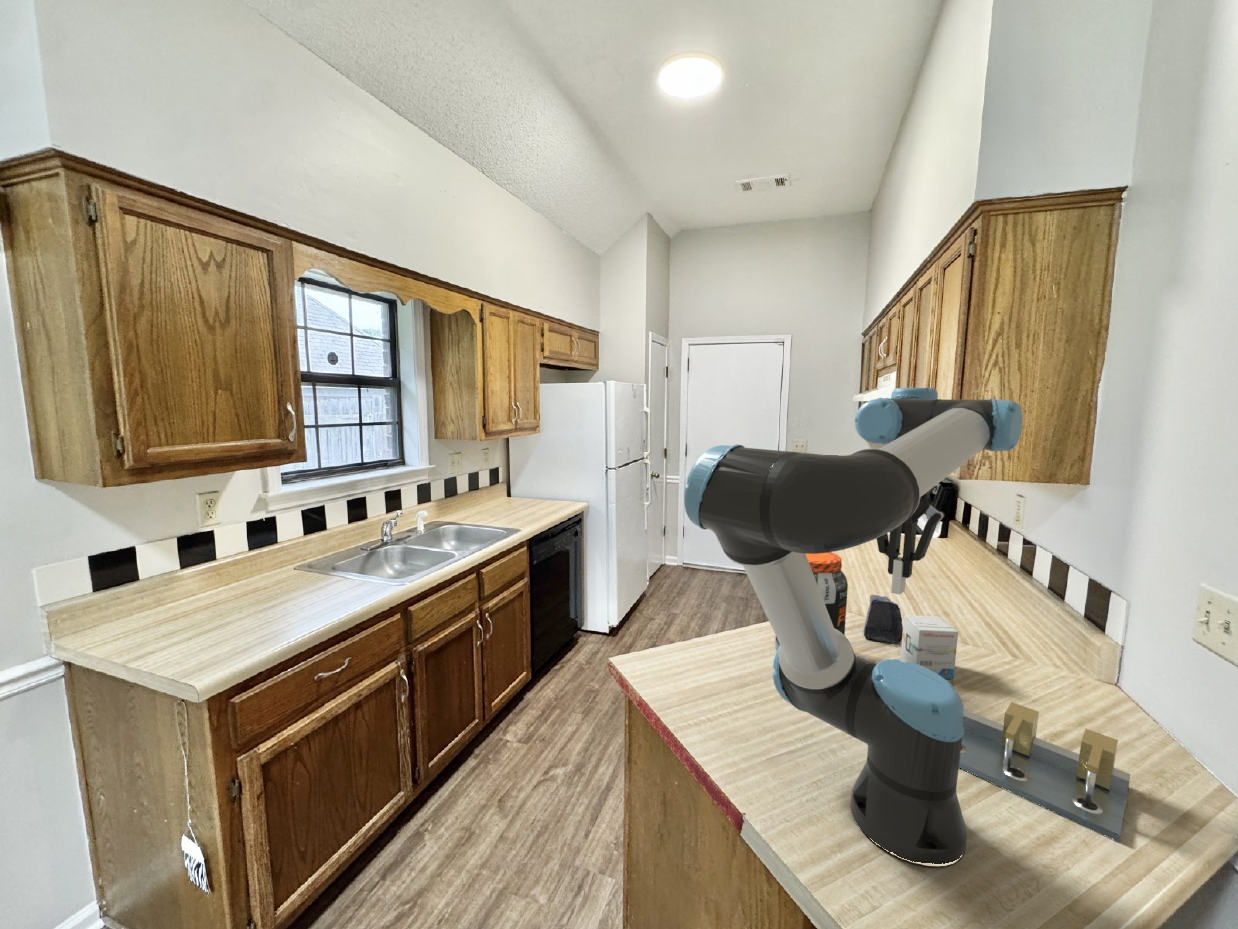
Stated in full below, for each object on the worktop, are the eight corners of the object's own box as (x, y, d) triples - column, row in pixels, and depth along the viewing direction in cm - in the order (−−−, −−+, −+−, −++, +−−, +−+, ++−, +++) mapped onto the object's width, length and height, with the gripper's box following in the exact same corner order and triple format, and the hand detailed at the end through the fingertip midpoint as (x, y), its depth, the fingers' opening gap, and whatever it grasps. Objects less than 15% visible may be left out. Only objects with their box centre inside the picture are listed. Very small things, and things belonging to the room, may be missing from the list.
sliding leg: (1020, 774, 86) (1024, 739, 85) (991, 761, 89) (995, 727, 88) (1034, 743, 94) (1038, 711, 93) (1007, 733, 97) (1011, 701, 96)
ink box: (936, 661, 126) (940, 615, 125) (954, 680, 118) (959, 631, 116) (899, 659, 127) (903, 613, 126) (915, 677, 119) (919, 629, 117)
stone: (898, 654, 133) (858, 636, 136) (890, 644, 142) (852, 627, 145) (916, 611, 132) (875, 594, 135) (906, 604, 142) (868, 588, 145)
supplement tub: (850, 676, 119) (858, 567, 115) (779, 670, 121) (785, 563, 118) (833, 644, 134) (839, 547, 131) (770, 639, 137) (775, 544, 133)
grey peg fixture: (1119, 842, 75) (1126, 792, 74) (921, 751, 94) (925, 710, 93) (1128, 787, 86) (1135, 743, 85) (949, 715, 105) (953, 678, 104)
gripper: (954, 473, 95) (942, 596, 98) (879, 465, 104) (871, 578, 107) (940, 477, 90) (928, 607, 93) (864, 468, 99) (855, 587, 102)
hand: (898, 591), depth 100 cm, fingers closed
